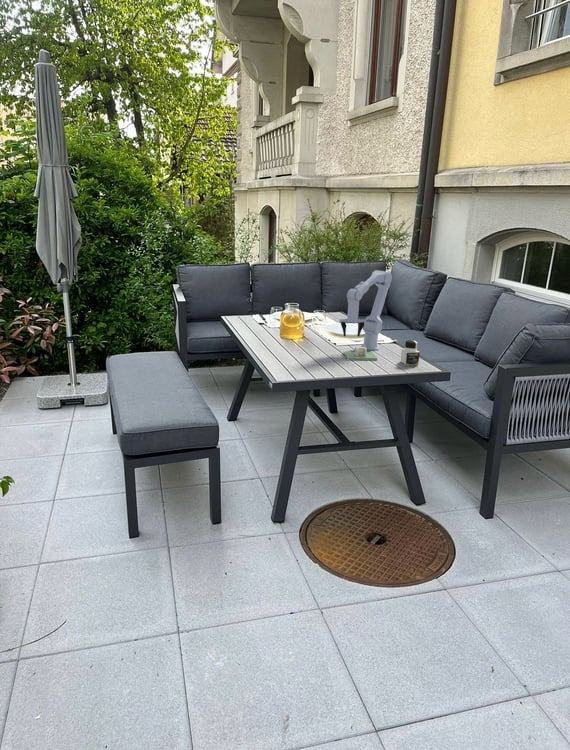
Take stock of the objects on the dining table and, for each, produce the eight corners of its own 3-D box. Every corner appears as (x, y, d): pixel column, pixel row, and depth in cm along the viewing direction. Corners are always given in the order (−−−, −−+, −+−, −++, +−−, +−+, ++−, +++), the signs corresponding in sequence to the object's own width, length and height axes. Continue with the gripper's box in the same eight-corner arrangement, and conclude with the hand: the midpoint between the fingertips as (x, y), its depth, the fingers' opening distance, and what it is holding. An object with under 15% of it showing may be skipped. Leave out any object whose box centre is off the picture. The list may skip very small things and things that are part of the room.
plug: (354, 354, 306) (354, 346, 305) (364, 354, 306) (364, 346, 305) (356, 356, 301) (356, 348, 300) (366, 356, 302) (367, 348, 300)
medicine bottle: (405, 365, 292) (407, 342, 289) (400, 361, 299) (402, 339, 295) (418, 365, 294) (420, 342, 290) (412, 361, 300) (415, 339, 297)
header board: (343, 354, 310) (343, 346, 309) (372, 354, 311) (372, 346, 310) (347, 360, 298) (347, 352, 297) (377, 360, 300) (377, 352, 298)
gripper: (341, 312, 300) (339, 337, 304) (368, 313, 301) (366, 338, 305) (338, 310, 306) (337, 334, 310) (365, 310, 308) (363, 334, 312)
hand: (351, 336), depth 308 cm, fingers open, 7 cm apart
